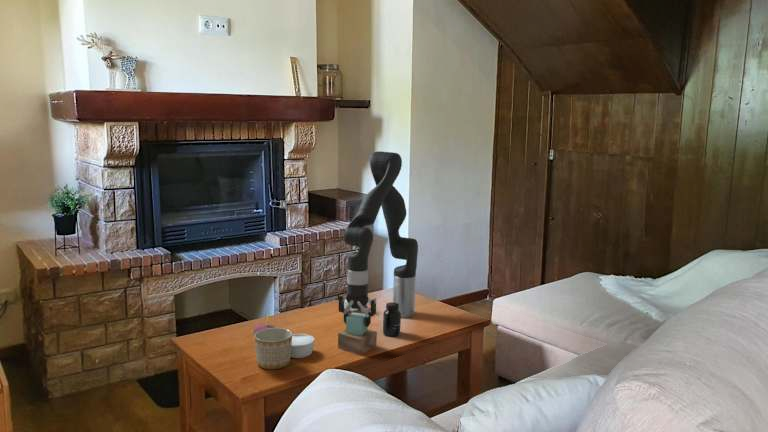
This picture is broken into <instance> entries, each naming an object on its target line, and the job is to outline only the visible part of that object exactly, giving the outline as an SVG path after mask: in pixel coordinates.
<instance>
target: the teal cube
mask: <svg viewBox="0 0 768 432" xmlns="http://www.w3.org/2000/svg"><path fill="white" fill-rule="evenodd" d="M365 318H366V315H365V314H364V313H360V312H354V311H351V313H349V316H347V317H346V324H345V330H346V333H347V334H353V335H360V336H362V335H363V334H364V333H365V332H366V331H367V329H368V327H365Z"/></svg>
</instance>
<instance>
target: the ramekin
mask: <svg viewBox="0 0 768 432" xmlns="http://www.w3.org/2000/svg"><path fill="white" fill-rule="evenodd" d="M315 339H316V338H315V337H314V336H312V335H309V334H305V333H292V344H291V355H290V358H294V359H303V358H307V357H310V356H311V354H312V353H313V349H314V345H315V342H316V341H315Z"/></svg>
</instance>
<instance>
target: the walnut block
mask: <svg viewBox="0 0 768 432" xmlns="http://www.w3.org/2000/svg"><path fill="white" fill-rule="evenodd" d="M377 334H378V331H376V330H373V329H369V328H367V331H366V332H365V333H364V334H363V335H362V336H360V335H353V334H347V333H346V329H345V330H341V331H340V332H338V334H337V349H339V350H343V351H346V352H349V353H352V354H355V355H359V356H361V355H364V354H365V353H367V352H368V351H370V350H373V349H374V348H376V347H377V344H378V343H377V342H378V341H377V339H378V338H377V336H378V335H377Z"/></svg>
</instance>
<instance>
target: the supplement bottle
mask: <svg viewBox="0 0 768 432" xmlns="http://www.w3.org/2000/svg"><path fill="white" fill-rule="evenodd" d="M385 304H386V305H385V310H384V311H383V315H382V316H383V317H382V334H383V335H384V336H385V337H398V336H399V335H400V334H401V324H402V323H401V312H400V311H399V310H398V309H399V304H398V303H394V302H393V301H392V302H391V301H390V302H386V303H385Z"/></svg>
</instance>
